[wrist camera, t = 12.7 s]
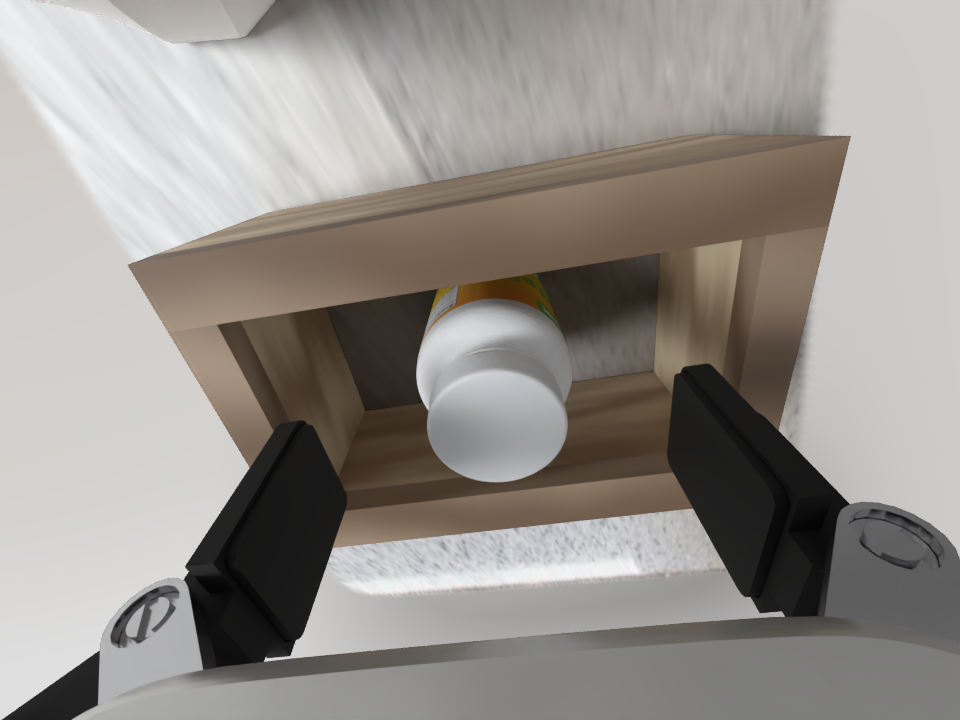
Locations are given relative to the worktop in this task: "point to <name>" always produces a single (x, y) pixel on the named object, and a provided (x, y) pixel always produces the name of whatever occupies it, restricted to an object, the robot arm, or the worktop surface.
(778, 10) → the worktop surface
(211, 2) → the vase
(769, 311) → the wooden box
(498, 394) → the supplement bottle
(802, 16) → the worktop surface
